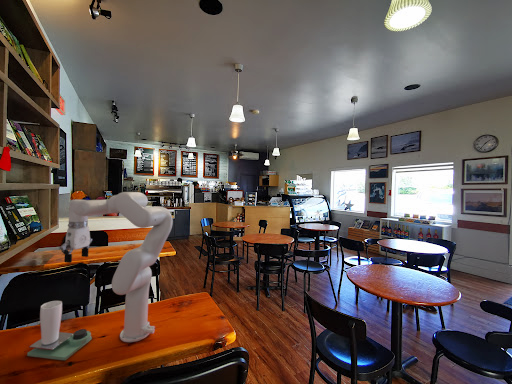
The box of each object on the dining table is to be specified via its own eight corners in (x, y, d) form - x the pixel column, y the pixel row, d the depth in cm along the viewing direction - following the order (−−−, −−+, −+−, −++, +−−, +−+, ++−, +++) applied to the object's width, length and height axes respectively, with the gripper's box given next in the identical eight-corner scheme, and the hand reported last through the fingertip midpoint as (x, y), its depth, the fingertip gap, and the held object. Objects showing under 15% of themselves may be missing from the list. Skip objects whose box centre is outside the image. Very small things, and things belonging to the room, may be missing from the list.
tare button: (88, 334, 102) (89, 329, 102) (80, 340, 97) (80, 335, 97) (79, 333, 102) (79, 328, 102) (70, 339, 98) (70, 334, 98)
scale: (94, 338, 103) (94, 331, 103) (66, 360, 90) (67, 353, 90) (59, 334, 105) (59, 327, 105) (27, 356, 91) (27, 348, 91)
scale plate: (74, 334, 101) (74, 333, 101) (52, 350, 91) (52, 349, 91) (53, 332, 101) (53, 331, 101) (28, 347, 92) (28, 346, 92)
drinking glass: (40, 349, 90) (42, 310, 90) (36, 341, 94) (38, 304, 94) (63, 340, 96) (64, 304, 96) (58, 333, 100) (59, 298, 100)
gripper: (69, 228, 106) (68, 265, 106) (98, 222, 124) (97, 255, 124) (54, 227, 107) (53, 264, 107) (85, 221, 124) (84, 254, 124)
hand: (76, 259), depth 115 cm, fingers open, 9 cm apart
